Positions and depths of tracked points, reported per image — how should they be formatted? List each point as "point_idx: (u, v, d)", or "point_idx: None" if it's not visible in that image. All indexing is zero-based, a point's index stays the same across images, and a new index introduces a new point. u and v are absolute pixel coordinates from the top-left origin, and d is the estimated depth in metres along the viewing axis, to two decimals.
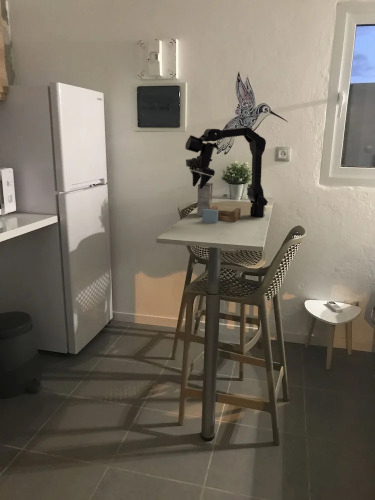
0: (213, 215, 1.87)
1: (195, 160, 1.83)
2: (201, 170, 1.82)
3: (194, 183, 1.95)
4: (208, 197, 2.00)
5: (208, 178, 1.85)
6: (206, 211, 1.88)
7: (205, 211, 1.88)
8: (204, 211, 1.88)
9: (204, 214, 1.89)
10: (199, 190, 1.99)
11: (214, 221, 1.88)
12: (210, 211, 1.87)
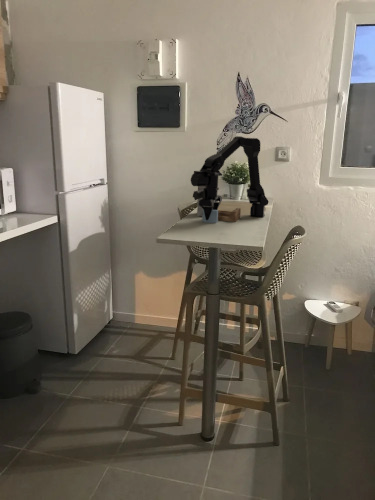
0: (213, 215, 1.87)
1: (196, 193, 1.84)
2: None
3: None
4: None
5: (210, 209, 1.81)
6: None
7: None
8: None
9: (204, 214, 1.89)
10: (199, 190, 1.99)
11: (214, 221, 1.88)
12: None
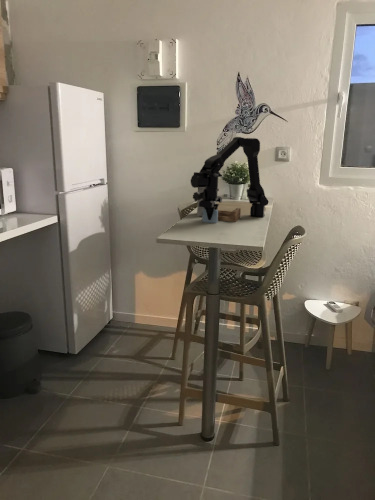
0: (213, 215, 1.87)
1: (196, 194, 1.84)
2: None
3: None
4: None
5: (212, 209, 1.85)
6: None
7: (205, 211, 1.88)
8: (204, 211, 1.88)
9: (204, 214, 1.89)
10: (199, 190, 1.99)
11: (214, 221, 1.88)
12: None
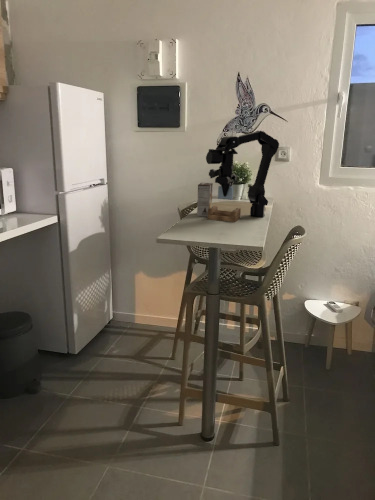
0: (228, 192, 1.93)
1: (212, 171, 1.90)
2: None
3: None
4: (208, 197, 2.00)
5: (228, 185, 1.90)
6: (221, 188, 1.94)
7: (221, 188, 1.94)
8: (219, 188, 1.94)
9: (219, 191, 1.95)
10: (199, 190, 1.99)
11: (229, 197, 1.94)
12: None
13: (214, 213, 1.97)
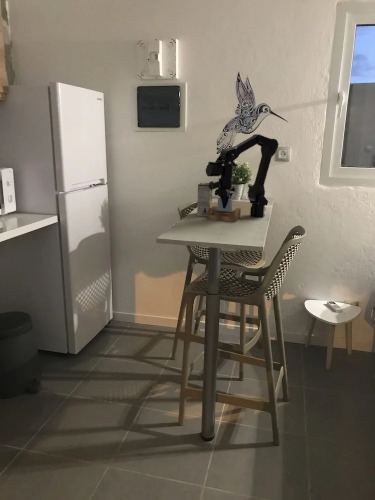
0: (228, 204, 1.95)
1: (211, 183, 1.92)
2: None
3: None
4: (208, 197, 2.00)
5: (227, 197, 1.92)
6: None
7: (220, 200, 1.96)
8: (219, 200, 1.96)
9: (219, 203, 1.96)
10: (199, 190, 1.99)
11: (229, 210, 1.96)
12: None
13: (214, 213, 1.97)
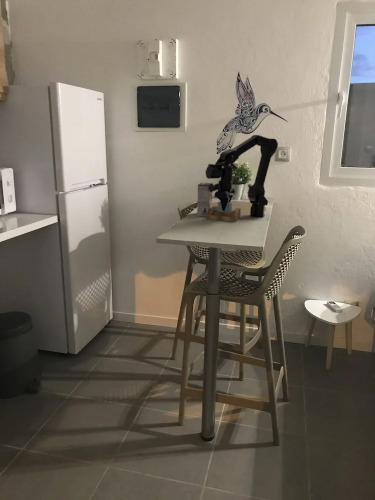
0: (227, 208, 1.95)
1: (211, 185, 1.92)
2: None
3: None
4: (208, 197, 2.00)
5: (226, 200, 1.91)
6: None
7: (220, 204, 1.96)
8: (219, 204, 1.97)
9: (219, 207, 1.97)
10: (199, 190, 1.99)
11: None
12: None
13: (214, 213, 1.97)
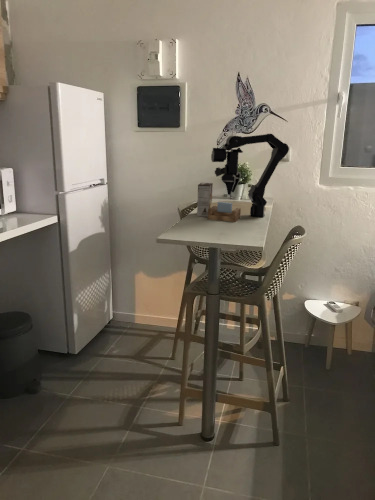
0: (227, 208, 1.95)
1: (218, 169, 1.96)
2: None
3: (232, 189, 2.05)
4: (208, 197, 2.00)
5: (232, 184, 1.94)
6: (221, 204, 1.96)
7: (220, 204, 1.96)
8: (219, 204, 1.97)
9: (219, 207, 1.97)
10: (199, 190, 1.99)
11: None
12: (224, 204, 1.95)
13: (214, 213, 1.97)
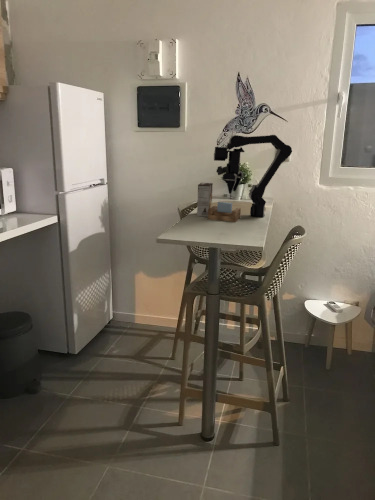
0: (227, 208, 1.95)
1: (220, 168, 1.99)
2: None
3: (234, 188, 2.07)
4: (208, 197, 2.00)
5: (233, 182, 1.96)
6: (221, 204, 1.96)
7: (220, 204, 1.96)
8: (219, 204, 1.97)
9: (219, 207, 1.97)
10: (199, 190, 1.99)
11: None
12: (224, 204, 1.95)
13: (214, 213, 1.97)
